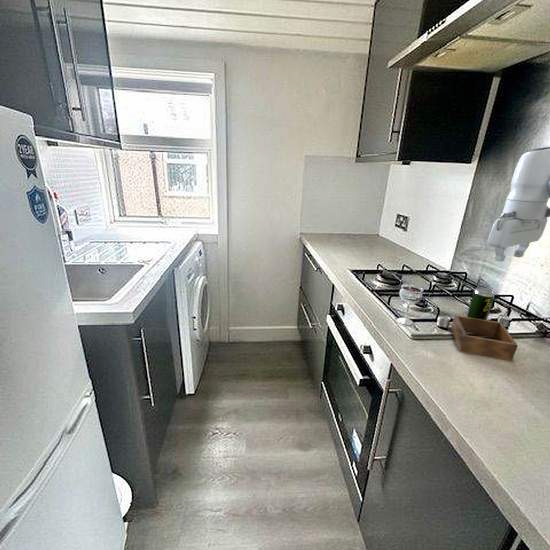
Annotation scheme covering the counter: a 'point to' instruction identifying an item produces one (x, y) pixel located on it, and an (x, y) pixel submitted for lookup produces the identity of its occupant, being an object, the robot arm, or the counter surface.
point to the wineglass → (409, 299)
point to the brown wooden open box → (496, 348)
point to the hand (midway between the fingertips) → (508, 258)
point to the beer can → (480, 303)
